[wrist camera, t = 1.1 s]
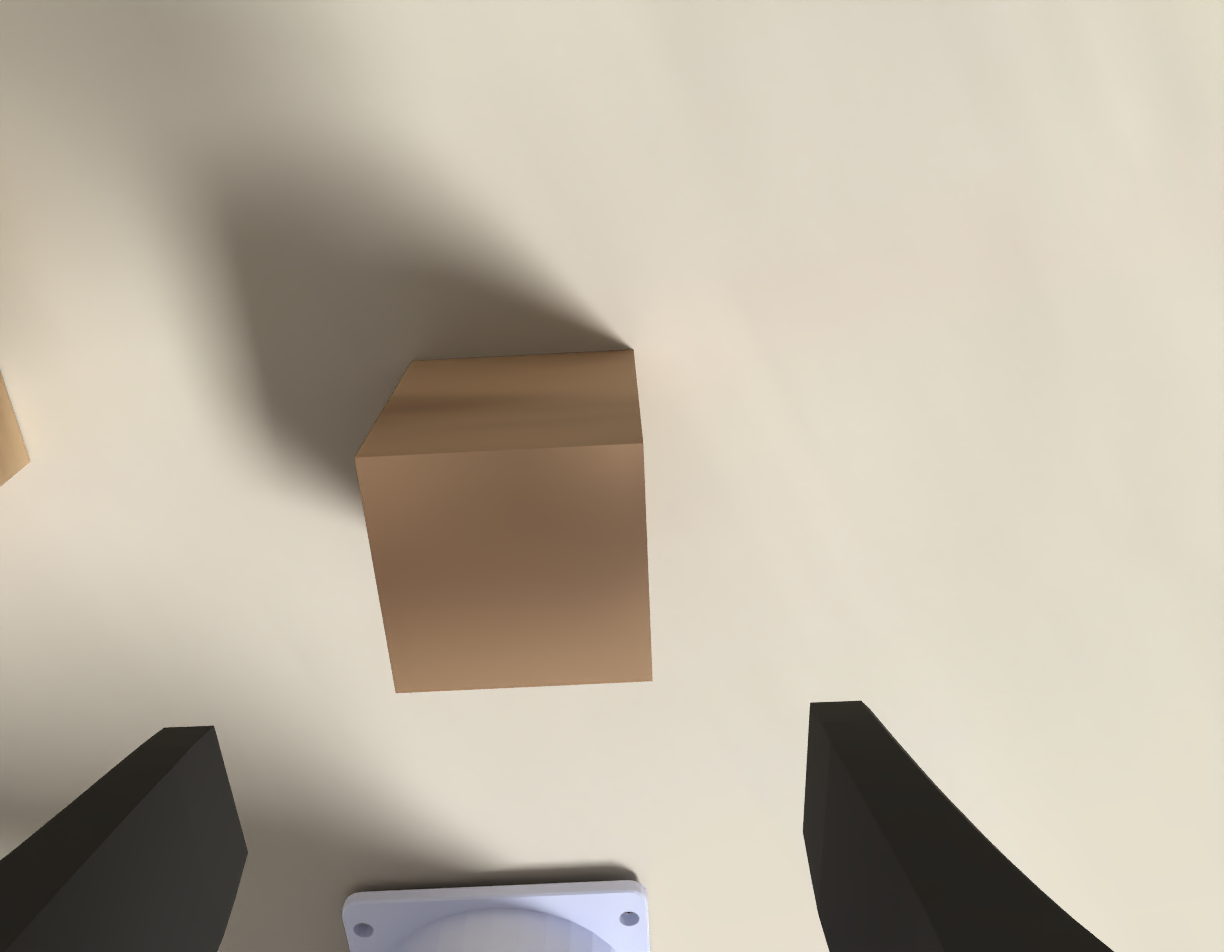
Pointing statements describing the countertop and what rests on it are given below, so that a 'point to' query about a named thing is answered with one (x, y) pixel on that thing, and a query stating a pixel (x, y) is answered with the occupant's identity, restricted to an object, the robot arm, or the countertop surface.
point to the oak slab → (10, 439)
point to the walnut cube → (510, 522)
